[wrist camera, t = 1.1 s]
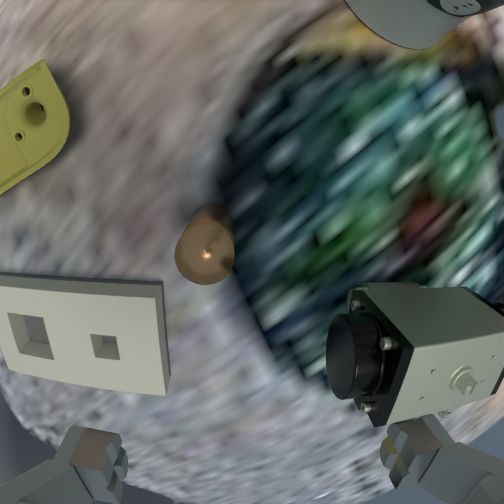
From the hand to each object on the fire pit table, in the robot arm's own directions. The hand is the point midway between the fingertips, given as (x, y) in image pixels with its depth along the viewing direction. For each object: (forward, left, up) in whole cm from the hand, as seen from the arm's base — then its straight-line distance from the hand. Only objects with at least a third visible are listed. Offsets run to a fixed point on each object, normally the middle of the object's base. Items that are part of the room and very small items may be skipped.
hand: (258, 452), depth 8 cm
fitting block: (+11, -18, -24) cm, 32 cm away
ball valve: (+7, +17, -25) cm, 31 cm away
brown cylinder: (-1, -2, -24) cm, 25 cm away
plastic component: (-11, -25, -25) cm, 37 cm away
